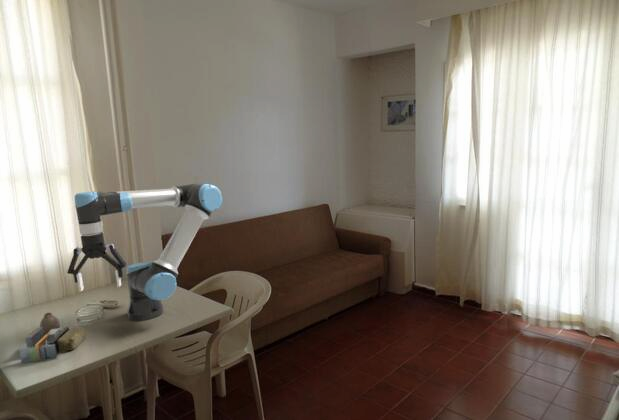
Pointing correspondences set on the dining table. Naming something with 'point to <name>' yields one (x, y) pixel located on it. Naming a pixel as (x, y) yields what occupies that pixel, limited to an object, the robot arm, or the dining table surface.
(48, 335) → the plunger
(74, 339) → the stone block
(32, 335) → the gauge housing
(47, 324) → the vase
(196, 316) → the dining table surface
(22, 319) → the dining table surface
